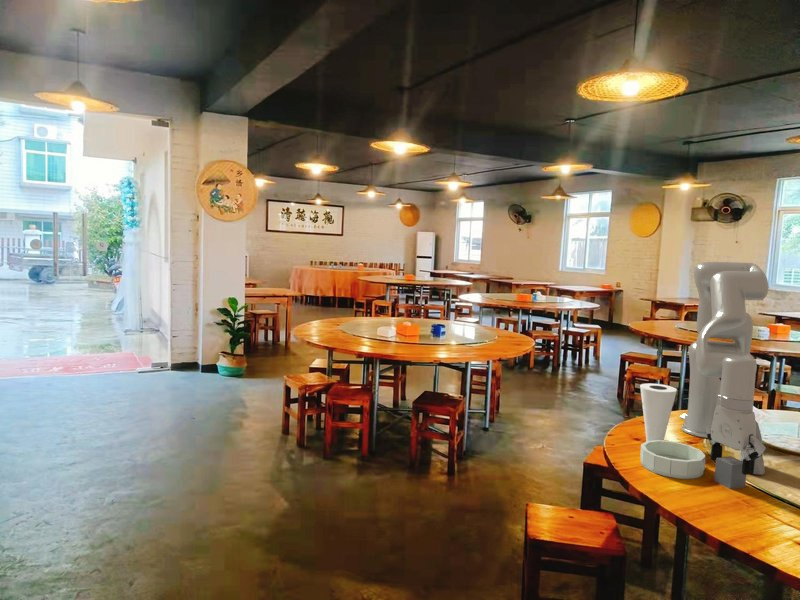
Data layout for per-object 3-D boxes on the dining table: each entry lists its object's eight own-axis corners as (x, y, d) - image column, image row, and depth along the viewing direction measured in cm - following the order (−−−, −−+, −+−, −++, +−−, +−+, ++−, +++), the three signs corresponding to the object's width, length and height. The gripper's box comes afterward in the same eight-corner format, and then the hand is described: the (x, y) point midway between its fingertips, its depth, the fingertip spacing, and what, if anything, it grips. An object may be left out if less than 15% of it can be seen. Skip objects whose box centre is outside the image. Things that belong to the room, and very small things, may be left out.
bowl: (628, 459, 161) (629, 442, 160) (673, 454, 165) (674, 438, 165) (669, 481, 145) (670, 463, 145) (716, 475, 150) (718, 458, 149)
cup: (629, 437, 179) (632, 384, 177) (657, 435, 182) (661, 382, 180) (651, 449, 169) (655, 392, 167) (680, 446, 171) (684, 391, 170)
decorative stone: (735, 459, 162) (739, 410, 160) (758, 463, 159) (763, 413, 158) (740, 473, 152) (745, 421, 151) (766, 477, 150) (770, 424, 148)
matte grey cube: (714, 481, 147) (716, 458, 146) (728, 479, 148) (730, 456, 147) (730, 489, 142) (732, 465, 141) (745, 487, 143) (747, 463, 142)
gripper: (698, 395, 150) (693, 456, 151) (754, 413, 133) (749, 481, 135) (719, 394, 152) (715, 454, 153) (778, 412, 135) (772, 478, 137)
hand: (731, 466), depth 144 cm, fingers open, 9 cm apart
